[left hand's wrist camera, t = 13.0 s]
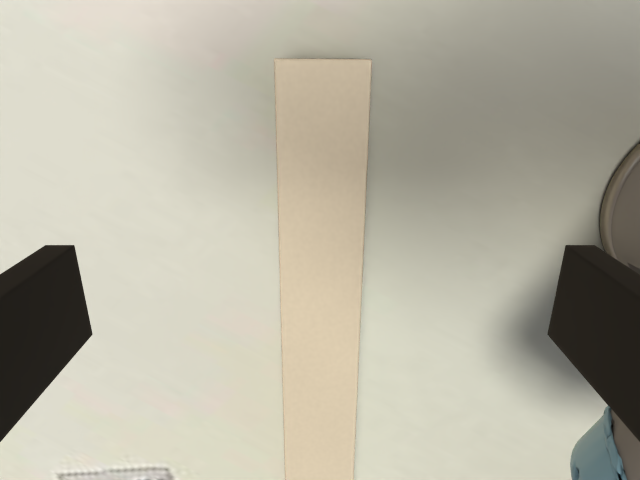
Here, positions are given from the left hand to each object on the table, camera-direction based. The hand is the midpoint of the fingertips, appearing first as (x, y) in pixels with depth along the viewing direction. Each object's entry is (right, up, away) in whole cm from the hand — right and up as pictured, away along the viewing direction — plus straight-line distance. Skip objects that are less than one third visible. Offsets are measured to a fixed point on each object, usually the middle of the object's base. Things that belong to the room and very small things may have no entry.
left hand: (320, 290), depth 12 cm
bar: (0, -17, +33) cm, 37 cm away
